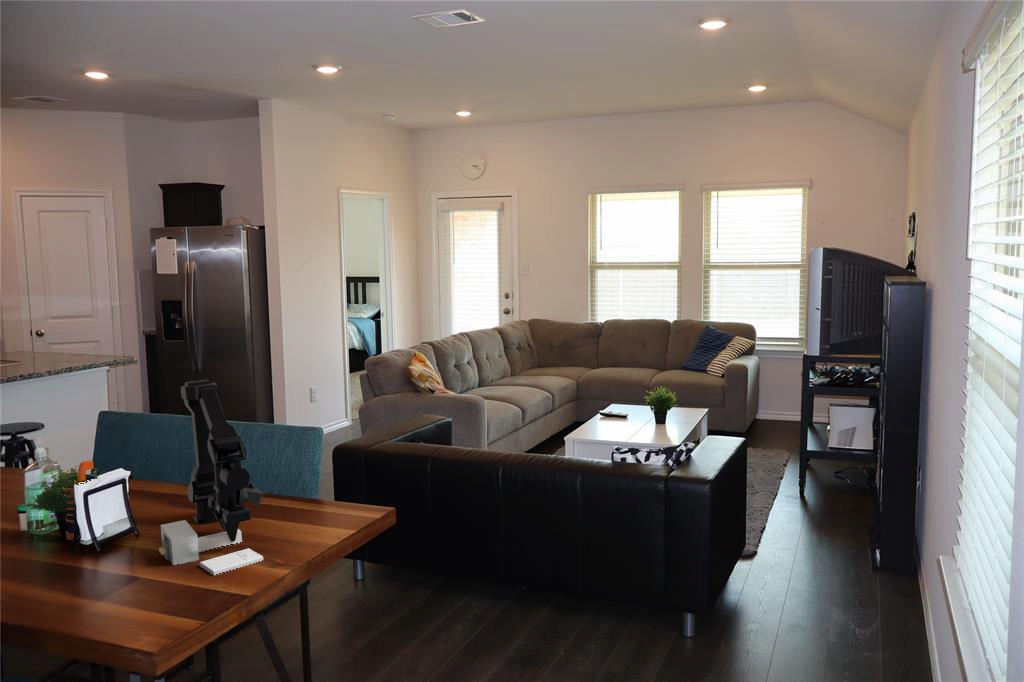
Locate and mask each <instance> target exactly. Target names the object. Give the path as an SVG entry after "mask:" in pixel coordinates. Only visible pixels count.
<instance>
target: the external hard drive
mask: <svg viewBox="0 0 1024 682" xmlns="http://www.w3.org/2000/svg"><path fill="white" fill-rule="evenodd" d="M262 560H263V561H264V556H263V555H261V554H260V553H258V552H256V551H254V550H252V549H251V548H249V547H248V548H245V549H242V550H238V551H234V552H231V553H228V554H223V555H221V556H217V557H214V558H210V559H207V560H203V561H200V562H199V567H200V568H201V569H203V568H204V569H203V570H205V571H206V570H207V571H206V572H208V573H209V572H210V573H209V574H210V575H212V574H213V576H214V575H215V576H217V575H216V574H218V575H220V574H219V573H221V574H223V573H222V572H225V573H227V572H226V571H228V572H230V571H229V570H231V571H233V569H234V570H237V569H236V568H238V569H240V567H241V568H244V567H246V565H247V566H250V565H249V564H251V565H253V563H254V564H256V562H257V563H260V562H263V561H262ZM259 561H260V562H259ZM243 566H244V567H243Z"/></svg>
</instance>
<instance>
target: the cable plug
mask: <svg viewBox="0 0 1024 682" xmlns="http://www.w3.org/2000/svg"><path fill="white" fill-rule="evenodd" d="M197 537H198V536H197ZM240 542H242V543H243V537H242V531H241V529H239V528H238V531H237V535H236V540H235V541H233V542H231V541H230V539H229V537H228V535H227V533H226V532H224V531H221V532H217V533H213V534H209V535H204V536H199V537H198V550H199V553H203V552H206V551H205V550H207V551H210V550H209V549H212V550H214V549H213V548H216V549H218V548H217V547H220V548H222V547H221V546H225V547H227V546H226V545H229V546H231V545H230V544H234V545H237V544H236V543H238V544H241V543H240ZM162 544H163V547H162V546H161V547H159V548H158V550H159V553H160V555H161V556H163V555H164V556H163V557H164V559H165V558H166V559H165V560H166V561H167V560H168V561H170V551H169V540H168V539H167V540H162V539H161V545H162ZM202 551H203V552H202Z"/></svg>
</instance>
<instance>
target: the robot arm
mask: <svg viewBox="0 0 1024 682" xmlns="http://www.w3.org/2000/svg"><path fill="white" fill-rule="evenodd" d="M180 394H181V399H182V400H183V403H184V405H185V406H186V408H187V409H188V411H189V412H190V413H191V421H192V423H191V424H192V431H193V432H192V433H193V445H194V454H195V456H194V457H195V466H194V468H193V470H192V472H191V473H190V481H189V485H188V488H187V498H188V501H190V502H191V504H195V516H192V520H193V521H194V522H195V523H196V524H197V525H203V524H207V523H214V522H217V520H218V523H219V525H220V527H221V529H222V532H226V533H227V535H228V537H229V539H230V541H231V542H233V541H235V540H236V535H237V531H238V529H239V526H240V523H241V522H242V523H243V522H246V521H251V520H253V518H252V515H253V514H252V511H251V510H250V509H249V508H247V507H246V506H245V503H247V504H249V503H250V504H255V505H259V506H260V505H261V503H262V498H263V496H264V492H263V491H262V490H260V489H258V488H256V487H255V486H254V484H253V483H252V482H250V481H251V480H250V479H251V476H250V472H249V471H248V470H247V469H246V468H244V467H243V466H242V463H241V461H245V460H247V457H246V455H247V450H246V447H245V444H244V441H243V439H242V438H241V436H240V435H239V434H238V432H237V430H236V428H235V426H233V425H232V424H230V423H228V421H227V418H226V415H225V413H224V410H223V408H222V405H221V401H220V399H219V395H218V387H217V382H211V381H210V380H209V379H201V380H194V381H193V380H192V381H185V382H184V386H181V387H180Z"/></svg>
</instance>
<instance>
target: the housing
mask: <svg viewBox="0 0 1024 682" xmlns="http://www.w3.org/2000/svg"><path fill="white" fill-rule="evenodd" d="M160 532H161V533H160V534H161V541H162V540H167V539H168V540H169V551H170V560H169V561H170V563H171V564H172V566H173V565H175V566H178V565H177V564H179V565H183V564H188V563H191V562H196V561H199V560H200V552H199V550H198V534H197V532H196V531H195V530H194V529H193V527H192V526H191V525H190V524H189V522H188V521H187V520H185V519H184V520H179V521H178V520H177V521H173V522H169V523H164V524H163V523H162V524H160ZM161 545H162V546H161V548H162V547H163V544H162V543H161ZM187 562H188V563H187Z"/></svg>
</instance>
